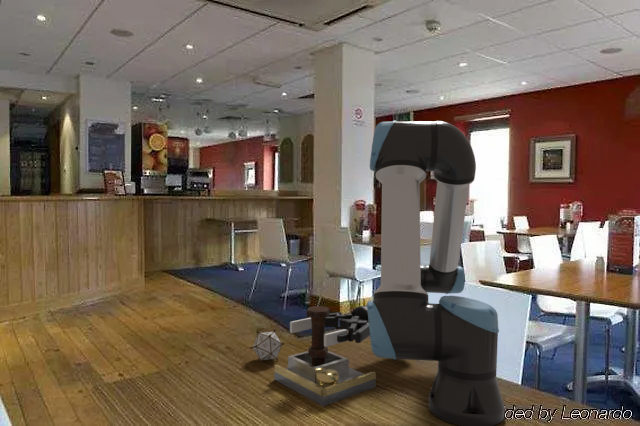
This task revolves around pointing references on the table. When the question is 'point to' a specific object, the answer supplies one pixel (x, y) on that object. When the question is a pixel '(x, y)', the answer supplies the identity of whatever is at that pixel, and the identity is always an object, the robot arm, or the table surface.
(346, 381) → the carrier
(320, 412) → the table surface
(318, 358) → the bolt
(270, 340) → the game die
